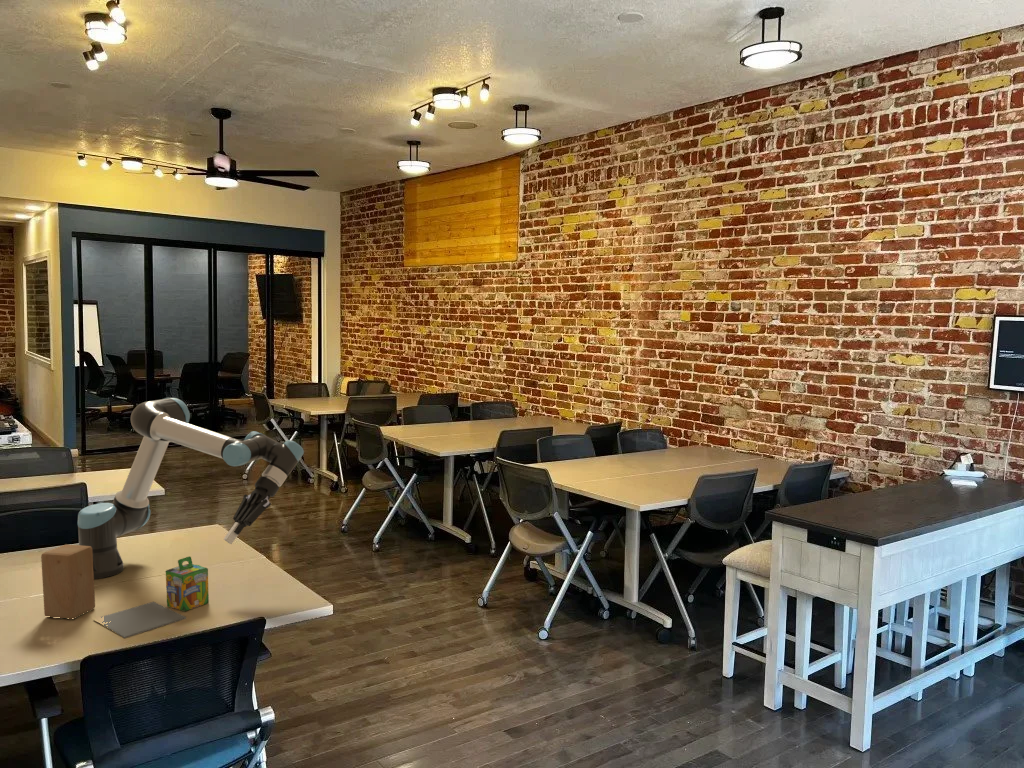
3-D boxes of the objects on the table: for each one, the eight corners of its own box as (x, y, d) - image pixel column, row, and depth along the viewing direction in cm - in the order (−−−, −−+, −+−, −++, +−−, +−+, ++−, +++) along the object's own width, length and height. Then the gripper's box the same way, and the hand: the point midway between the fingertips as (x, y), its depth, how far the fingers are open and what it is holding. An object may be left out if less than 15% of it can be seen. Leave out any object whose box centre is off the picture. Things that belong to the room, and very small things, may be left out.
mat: (93, 620, 227) (93, 619, 227) (153, 602, 241) (153, 601, 240) (124, 638, 214) (124, 636, 214) (186, 618, 228) (186, 617, 228)
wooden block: (72, 621, 226) (68, 555, 224) (43, 618, 228) (39, 553, 226) (96, 608, 236) (93, 545, 234) (68, 606, 238) (65, 543, 236)
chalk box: (184, 612, 233) (182, 565, 231) (165, 606, 237) (163, 560, 236) (210, 603, 240) (208, 557, 239) (192, 597, 245) (190, 552, 244)
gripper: (288, 490, 257) (246, 551, 246) (266, 485, 265) (224, 544, 254) (274, 477, 252) (230, 538, 241) (252, 472, 261) (208, 532, 249)
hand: (227, 541), depth 247 cm, fingers closed
